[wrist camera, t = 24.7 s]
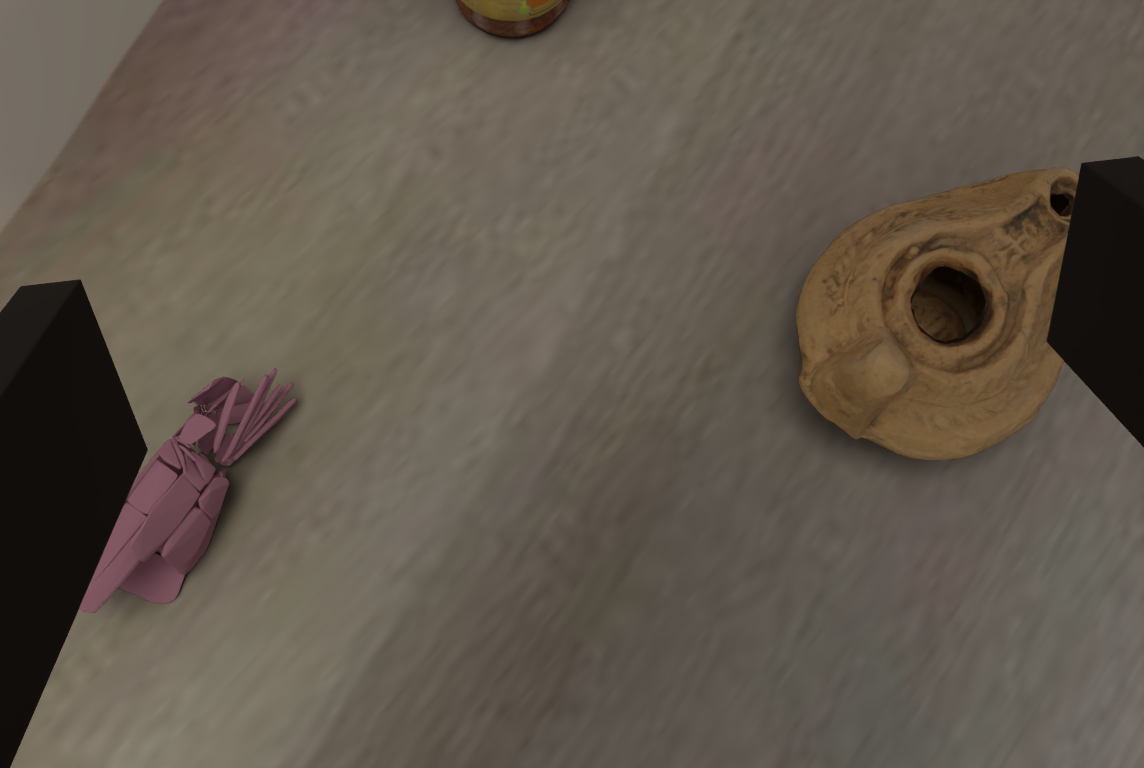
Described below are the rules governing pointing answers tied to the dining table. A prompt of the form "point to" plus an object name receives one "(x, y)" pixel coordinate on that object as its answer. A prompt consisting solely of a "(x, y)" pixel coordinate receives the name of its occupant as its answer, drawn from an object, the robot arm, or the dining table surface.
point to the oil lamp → (939, 316)
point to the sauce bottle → (511, 15)
